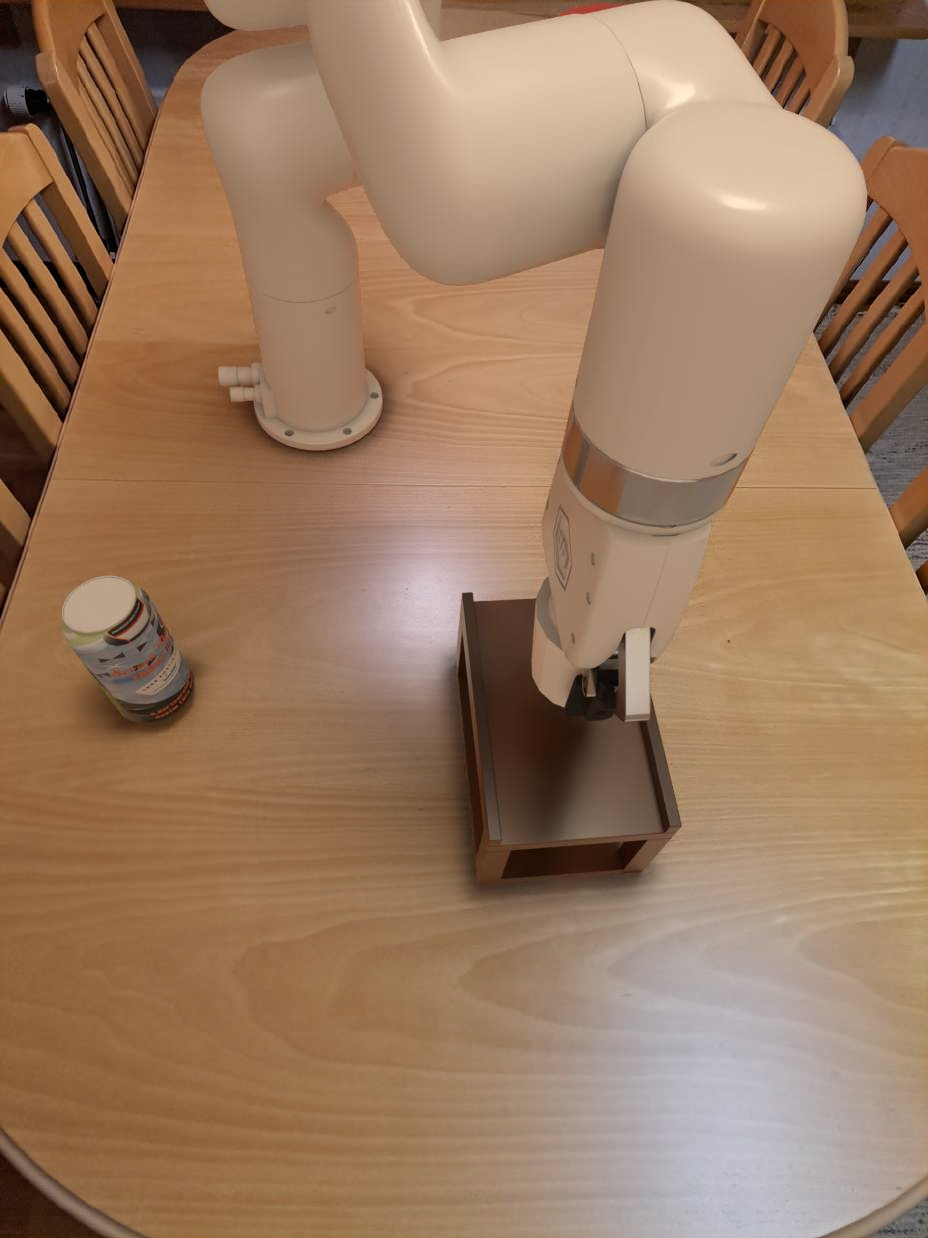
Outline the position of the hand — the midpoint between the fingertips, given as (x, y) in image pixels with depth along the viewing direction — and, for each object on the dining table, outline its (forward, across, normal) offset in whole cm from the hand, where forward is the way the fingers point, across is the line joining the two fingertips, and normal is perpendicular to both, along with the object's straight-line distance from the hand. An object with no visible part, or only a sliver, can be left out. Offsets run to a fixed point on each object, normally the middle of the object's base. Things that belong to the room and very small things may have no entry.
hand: (580, 652), depth 50 cm
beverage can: (+17, -8, -30) cm, 35 cm away
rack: (+17, 0, 0) cm, 17 cm away
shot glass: (+2, 0, 0) cm, 2 cm away
